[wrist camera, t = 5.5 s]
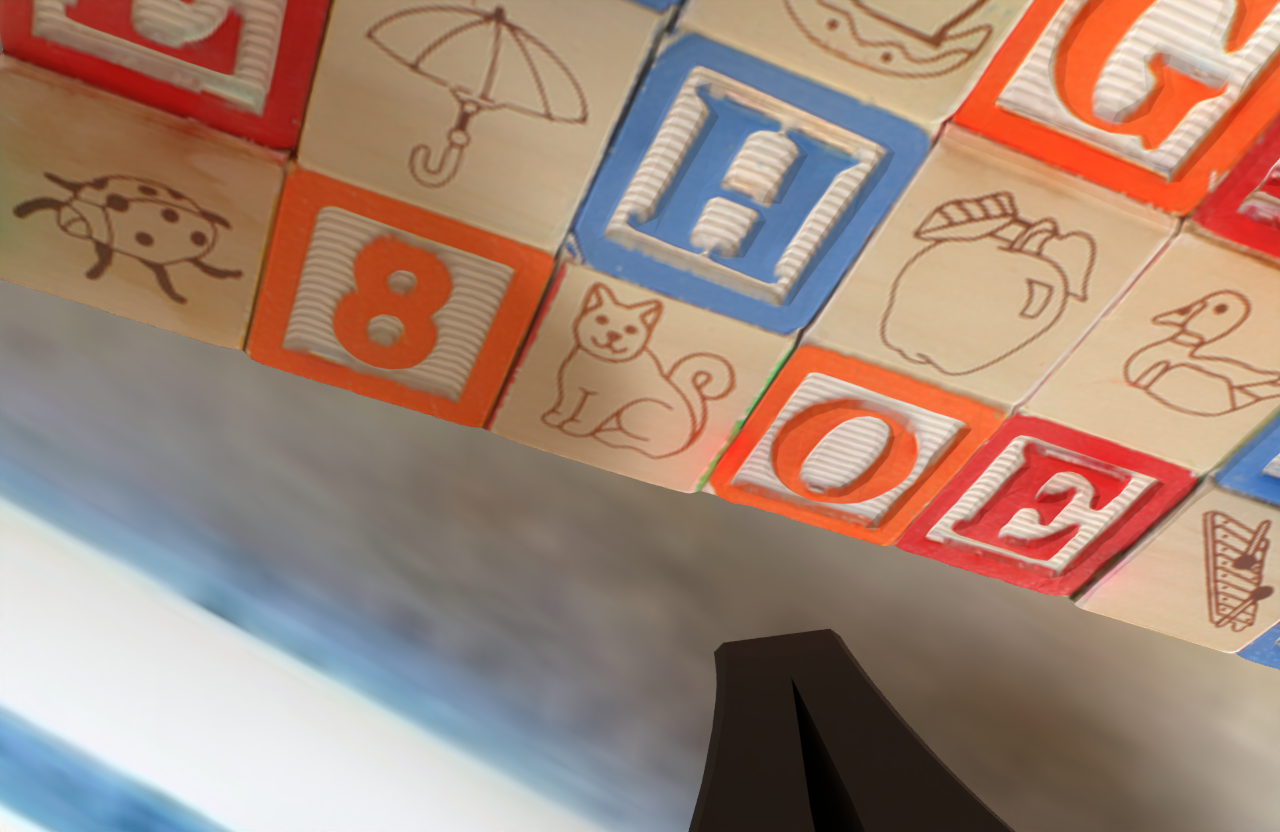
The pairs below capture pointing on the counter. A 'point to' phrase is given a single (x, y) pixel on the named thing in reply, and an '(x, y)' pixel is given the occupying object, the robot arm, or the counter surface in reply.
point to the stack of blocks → (726, 250)
